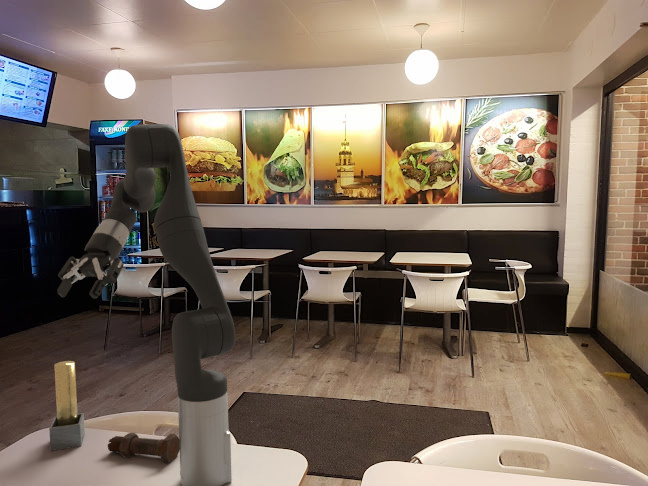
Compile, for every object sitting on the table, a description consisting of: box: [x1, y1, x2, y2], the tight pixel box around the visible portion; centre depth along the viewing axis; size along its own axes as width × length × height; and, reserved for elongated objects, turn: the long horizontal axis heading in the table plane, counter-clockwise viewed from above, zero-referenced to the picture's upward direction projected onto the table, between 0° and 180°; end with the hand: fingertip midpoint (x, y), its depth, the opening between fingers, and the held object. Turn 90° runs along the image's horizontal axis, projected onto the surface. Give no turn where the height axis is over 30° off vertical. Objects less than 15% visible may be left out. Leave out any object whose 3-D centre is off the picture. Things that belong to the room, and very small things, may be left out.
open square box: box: [48, 412, 86, 452], centre depth 108 cm, size 6×6×5 cm
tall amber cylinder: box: [53, 360, 78, 427], centre depth 108 cm, size 4×4×18 cm
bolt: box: [107, 432, 180, 464], centre depth 102 cm, size 6×5×15 cm
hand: (76, 295), depth 110 cm, fingers open, 8 cm apart
